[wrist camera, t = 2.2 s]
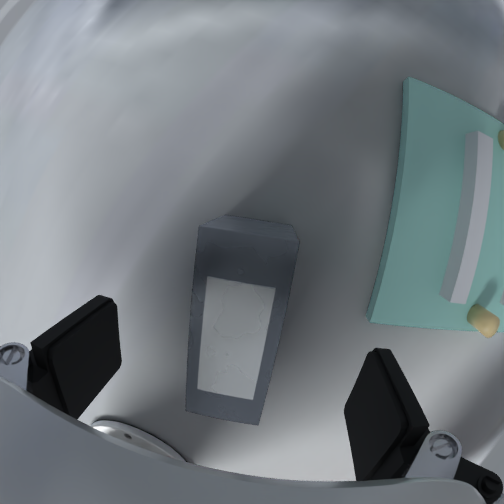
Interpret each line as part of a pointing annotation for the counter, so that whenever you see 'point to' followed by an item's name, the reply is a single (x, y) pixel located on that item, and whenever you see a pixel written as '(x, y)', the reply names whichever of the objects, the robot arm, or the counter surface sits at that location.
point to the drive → (237, 315)
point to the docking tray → (444, 219)
